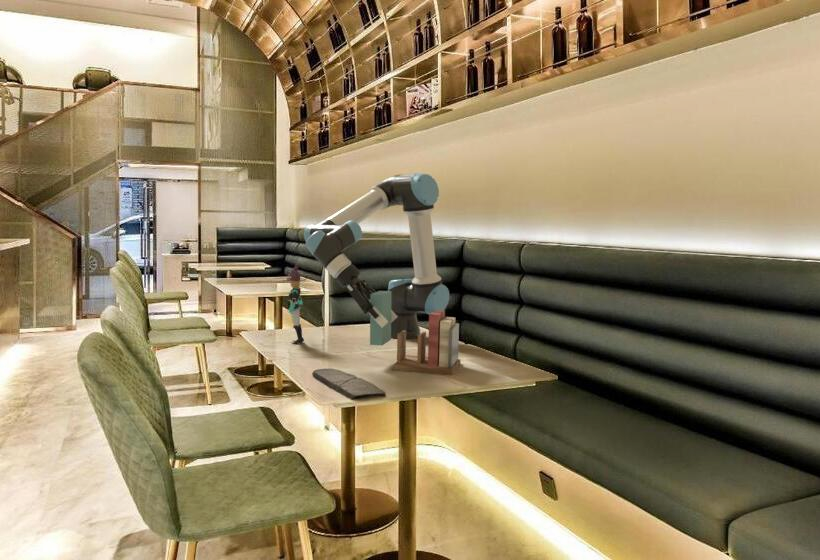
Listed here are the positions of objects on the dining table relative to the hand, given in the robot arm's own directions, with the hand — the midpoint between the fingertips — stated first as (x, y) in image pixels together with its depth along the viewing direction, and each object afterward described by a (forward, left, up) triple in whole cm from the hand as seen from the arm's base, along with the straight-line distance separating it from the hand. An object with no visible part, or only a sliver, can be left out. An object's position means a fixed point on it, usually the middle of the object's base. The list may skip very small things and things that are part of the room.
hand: (390, 322), depth 195 cm
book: (0, -3, -7) cm, 7 cm away
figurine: (-22, -43, -14) cm, 50 cm away
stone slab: (+29, -4, -14) cm, 33 cm away
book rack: (0, +13, -13) cm, 19 cm away
